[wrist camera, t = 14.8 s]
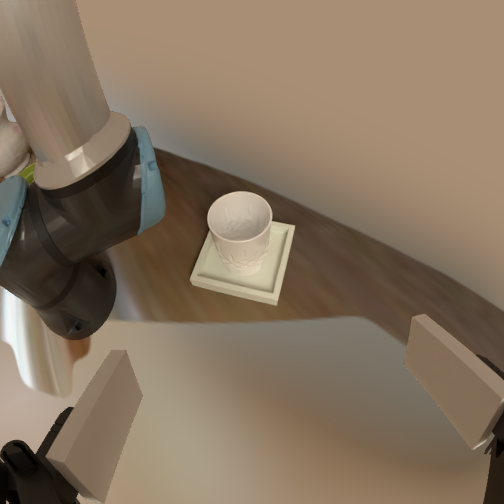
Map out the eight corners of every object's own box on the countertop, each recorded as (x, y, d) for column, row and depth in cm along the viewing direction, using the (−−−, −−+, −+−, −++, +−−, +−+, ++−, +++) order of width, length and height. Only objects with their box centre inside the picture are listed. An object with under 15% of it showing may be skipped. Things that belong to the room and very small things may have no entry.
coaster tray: (192, 285, 41) (189, 279, 40) (219, 218, 48) (217, 210, 46) (276, 305, 39) (277, 300, 38) (293, 233, 46) (295, 225, 44)
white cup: (222, 233, 45) (213, 189, 37) (271, 236, 45) (273, 192, 36) (213, 278, 41) (201, 239, 33) (268, 282, 41) (270, 244, 32)
